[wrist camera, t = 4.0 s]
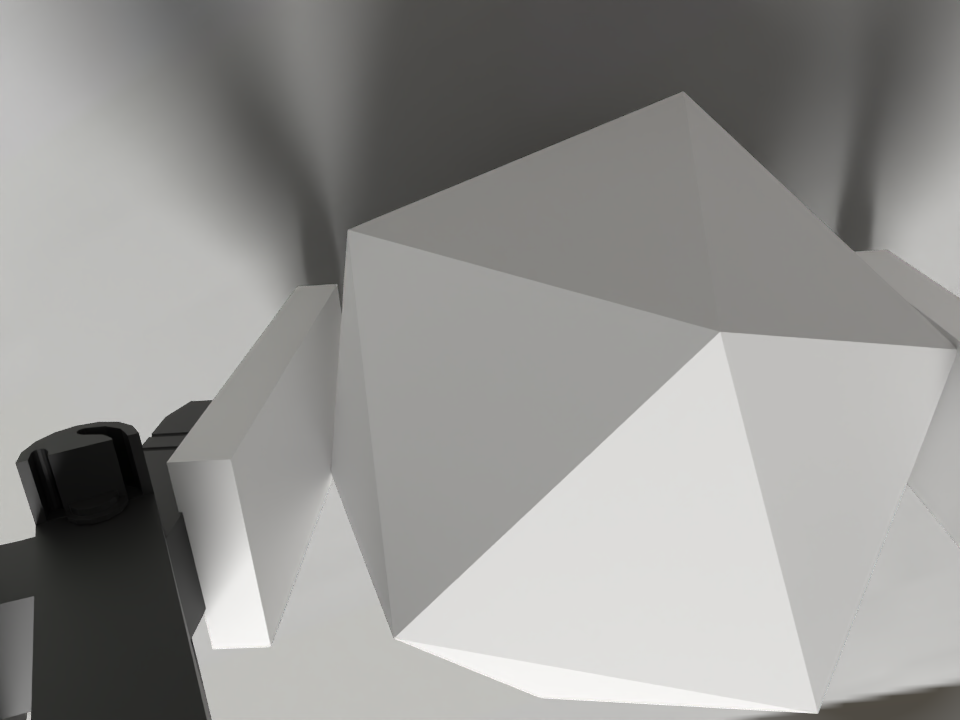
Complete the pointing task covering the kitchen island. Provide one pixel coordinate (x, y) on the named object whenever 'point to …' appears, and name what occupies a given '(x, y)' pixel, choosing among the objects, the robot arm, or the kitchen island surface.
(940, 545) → the kitchen island surface
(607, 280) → the die
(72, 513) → the robot arm
